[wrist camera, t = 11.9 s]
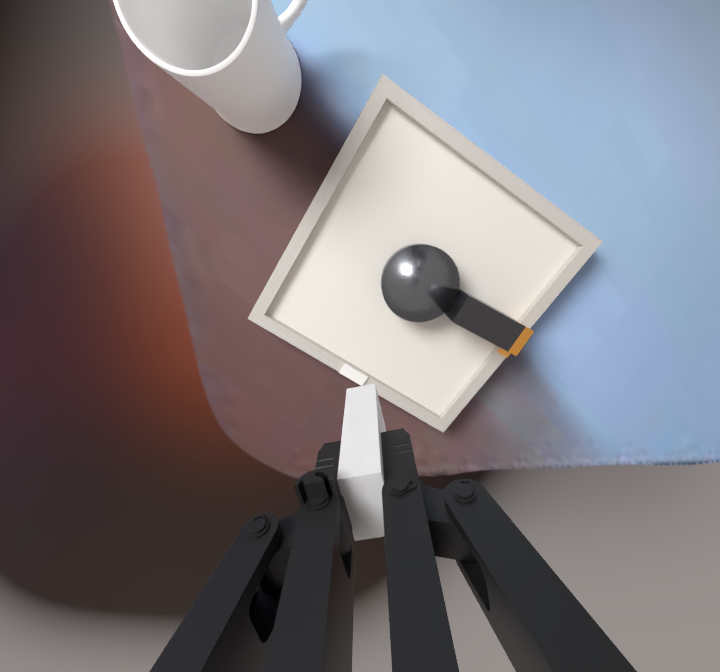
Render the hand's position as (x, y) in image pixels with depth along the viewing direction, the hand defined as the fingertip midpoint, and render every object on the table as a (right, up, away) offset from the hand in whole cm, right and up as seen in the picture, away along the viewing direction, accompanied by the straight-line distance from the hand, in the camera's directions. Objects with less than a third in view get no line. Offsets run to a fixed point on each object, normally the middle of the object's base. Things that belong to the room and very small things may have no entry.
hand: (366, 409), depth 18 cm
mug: (-8, +27, +12) cm, 31 cm away
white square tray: (+5, +10, +17) cm, 20 cm away
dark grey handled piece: (+8, +8, +15) cm, 19 cm away
